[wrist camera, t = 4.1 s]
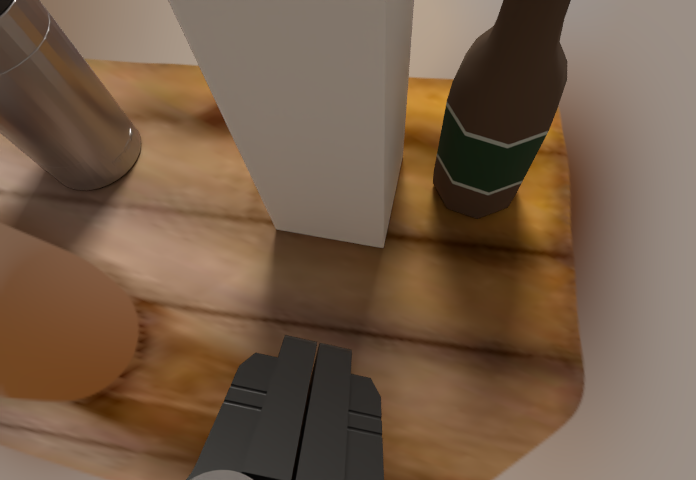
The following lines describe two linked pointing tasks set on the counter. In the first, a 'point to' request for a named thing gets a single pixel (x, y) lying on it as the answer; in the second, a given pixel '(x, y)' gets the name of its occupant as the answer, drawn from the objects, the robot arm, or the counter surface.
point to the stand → (311, 104)
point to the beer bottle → (501, 107)
